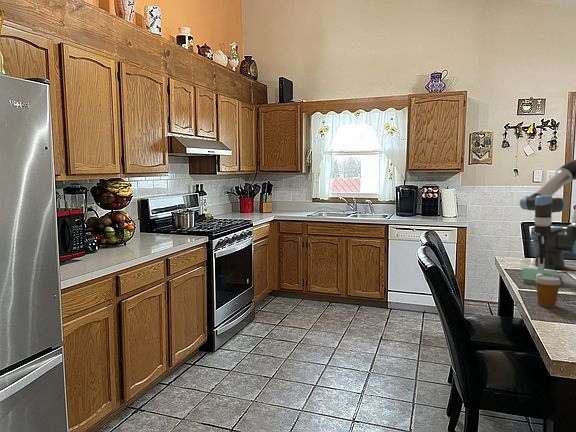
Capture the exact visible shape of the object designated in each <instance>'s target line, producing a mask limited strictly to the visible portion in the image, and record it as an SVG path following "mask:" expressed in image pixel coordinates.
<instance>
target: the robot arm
mask: <svg viewBox="0 0 576 432" xmlns="http://www.w3.org/2000/svg"><path fill="white" fill-rule="evenodd" d="M574 180H576V159H574V160H571V161H569V162H567V163H565V164H563V165H562V166H561V167H559V168H558V169H556V171H555V173H554V175H552V176H551V177H550V178H549V179H548V180H547V181H546V182H545V183H544V184H542V185H541V186H540V187H539V188H537V189H536V190H535V191H534V192H533V193H532V194H531V195H530V196H528V195H526V196H523V197H521V199H520V200H519V206H520V209H522V210H526V211H534V218H533V221H534V226H533V228H534V229H533V231H534V233H536V234H539V235H537V244H538V254H537V256H536V258H535V260H534V266H536V267H537V269H538V270H545V269H548V270H561V269H562V270H563V269H565V267H566V262H565V260H564V257H563V251H564V252H569V253H570V252H571V253H575V254H576V207H575V208H574V212H573V216H572V219H571V222H570V224H569V225H567V226H566V229H564V227H562V226H551V225H552V220H553V219H552V214H553V213H561V212H564V211H566V210H567V208H568V201H567V200H566V199H565V198H563V197H553V195H555V194H556V193H557V192H558V191H559V190H560V189H561V188H563V186H565V185H566V184H569V183H571V182H572V181H574Z"/></svg>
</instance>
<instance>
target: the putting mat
mask: <svg viewBox="0 0 576 432" xmlns="http://www.w3.org/2000/svg"><path fill="white" fill-rule="evenodd" d="M521 272H522V283H523V285H531V286H536V281H535V279H536V275H537V274H539V273H541V274H543V275H548V276H555V277H558V278H560V276H559V274H558V271H557V270H555V269H544V270H538V268H527V267H522V271H521ZM561 287H562V282H561V283H560V285H559V288H561Z"/></svg>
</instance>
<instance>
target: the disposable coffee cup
mask: <svg viewBox="0 0 576 432" xmlns="http://www.w3.org/2000/svg"><path fill="white" fill-rule="evenodd" d="M535 281H536V285H535V286H536V296H537V305H538V306H539V307H542V306H544V307H543V308H549V307H551V308H555V307H556V305H557V299H558V296H559V295H558V294H559V289H560V287H559V285H560V283H561V284H562V280H561V279H560V277H559V278H558V277H555V276H548V275H538V276H536V279H535Z"/></svg>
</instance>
